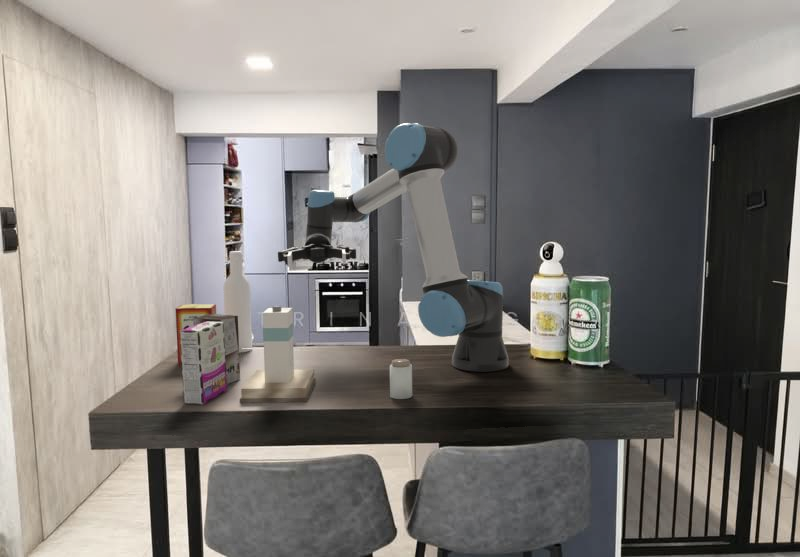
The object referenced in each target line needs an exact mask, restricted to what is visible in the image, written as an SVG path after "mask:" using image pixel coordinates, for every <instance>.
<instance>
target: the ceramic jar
mask: <svg viewBox="0 0 800 557" xmlns="http://www.w3.org/2000/svg"><path fill="white" fill-rule="evenodd" d="M389 397H390V398H392V399H395V400H406V399H410V398H412V397H413V365H412V363H411V362H410V359H406V358H397V359H393V360H391V364H389Z"/></svg>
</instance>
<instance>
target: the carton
mask: <svg viewBox="0 0 800 557" xmlns="http://www.w3.org/2000/svg"><path fill="white" fill-rule="evenodd" d="M293 320H294V319H293V307H282V306H281V305H273V306H272V307H268V308H266V309H265V311H263V312H262V336H263V338H262V340H263V363H264V368H263V370H265V383H282V382H290V380H291V379H292V377H293V375H294V370H295V359H294V355H295V354H294V321H293Z"/></svg>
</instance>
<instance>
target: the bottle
mask: <svg viewBox="0 0 800 557" xmlns="http://www.w3.org/2000/svg"><path fill="white" fill-rule="evenodd" d="M228 257H229V272H230V274H229V275H228V276H227V278H226V279H225V280H224V284H223V305H224V306H223V307H224V309H223V310H224V315H233V316H238V335H239V354H240V353H241V352H242V353H246V352H247V353H248V352H251V351H252V350H253V332H252V305H251V304H252V299H251V295H252V293H251V285H250V284H251V283H250V281H249V279H248V278H247V277H246V276H245V275H244V274H243V273H244V272H243V252H242V251H240V250H232V251H229V255H228ZM242 348H252V349H242Z"/></svg>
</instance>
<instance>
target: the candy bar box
mask: <svg viewBox="0 0 800 557" xmlns="http://www.w3.org/2000/svg"><path fill="white" fill-rule="evenodd" d="M223 323H224V322H216V321H212V322H211V321H207V322H203V323H200V324H197V325H195V326H192V327H189V328H186V329H184V330H181V331H180V344H181V360H182V365H181V372H182V386H183V387H182V389H183V390H182V392H183V403H184V404H186V405H205V404H207V403H209V402H210V401H212V400H213V399H215V398H216V397H219V395H222V394H223V393H225V392H226V391H227V390H228V384H227V380H226V361H225V342H224V324H223Z"/></svg>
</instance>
